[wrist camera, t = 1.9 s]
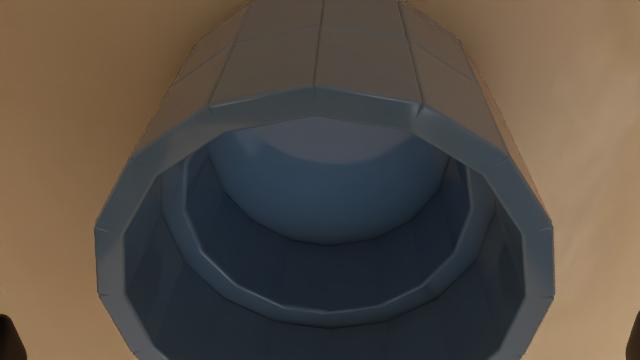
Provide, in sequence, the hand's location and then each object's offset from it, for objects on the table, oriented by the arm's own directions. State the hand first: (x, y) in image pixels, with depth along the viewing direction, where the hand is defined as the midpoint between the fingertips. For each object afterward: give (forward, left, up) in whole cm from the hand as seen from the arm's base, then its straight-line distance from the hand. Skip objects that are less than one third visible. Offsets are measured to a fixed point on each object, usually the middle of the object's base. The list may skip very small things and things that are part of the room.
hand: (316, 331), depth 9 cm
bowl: (0, 0, -6) cm, 6 cm away
